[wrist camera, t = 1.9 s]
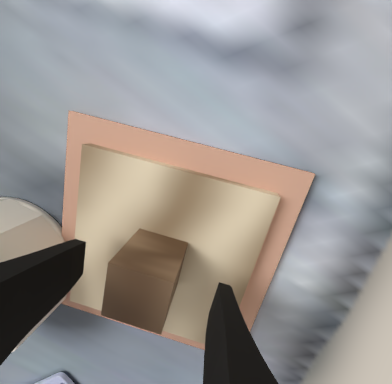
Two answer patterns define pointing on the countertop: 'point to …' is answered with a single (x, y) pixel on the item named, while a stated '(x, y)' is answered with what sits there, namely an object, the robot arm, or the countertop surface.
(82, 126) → the mat
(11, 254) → the bowl
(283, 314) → the countertop surface
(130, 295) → the lid
